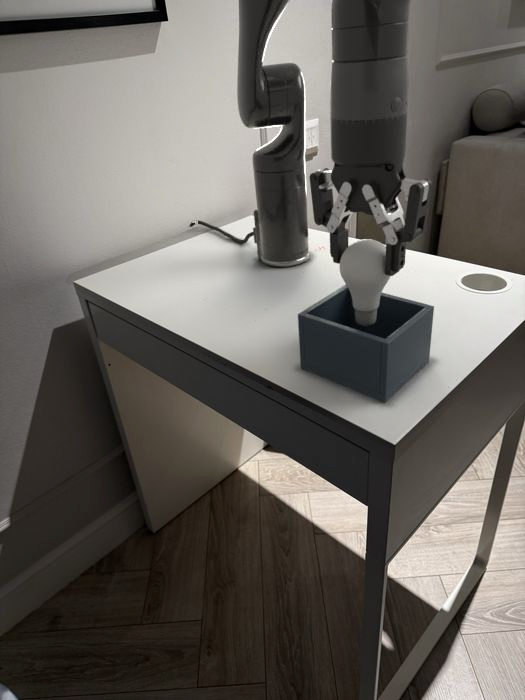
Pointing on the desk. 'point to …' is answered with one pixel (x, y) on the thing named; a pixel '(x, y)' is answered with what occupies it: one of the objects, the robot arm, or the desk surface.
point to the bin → (366, 343)
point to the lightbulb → (365, 277)
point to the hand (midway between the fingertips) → (365, 266)
